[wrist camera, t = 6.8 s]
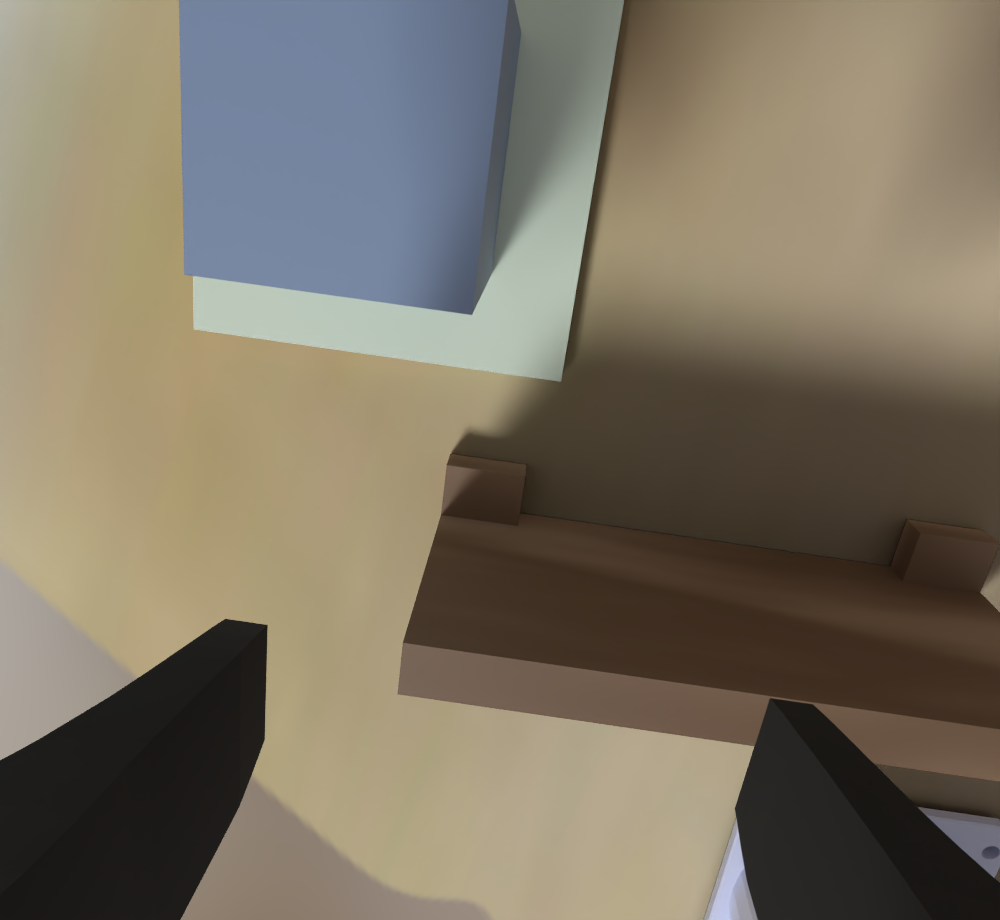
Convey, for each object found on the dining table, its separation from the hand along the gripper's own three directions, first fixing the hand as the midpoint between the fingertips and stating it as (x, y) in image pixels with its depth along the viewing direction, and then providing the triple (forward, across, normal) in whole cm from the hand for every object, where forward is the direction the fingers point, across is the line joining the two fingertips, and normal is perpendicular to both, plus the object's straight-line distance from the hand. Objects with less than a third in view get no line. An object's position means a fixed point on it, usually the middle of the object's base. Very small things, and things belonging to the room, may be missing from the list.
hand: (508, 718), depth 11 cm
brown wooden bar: (+10, -5, +2) cm, 11 cm away
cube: (+9, +4, -7) cm, 12 cm away
